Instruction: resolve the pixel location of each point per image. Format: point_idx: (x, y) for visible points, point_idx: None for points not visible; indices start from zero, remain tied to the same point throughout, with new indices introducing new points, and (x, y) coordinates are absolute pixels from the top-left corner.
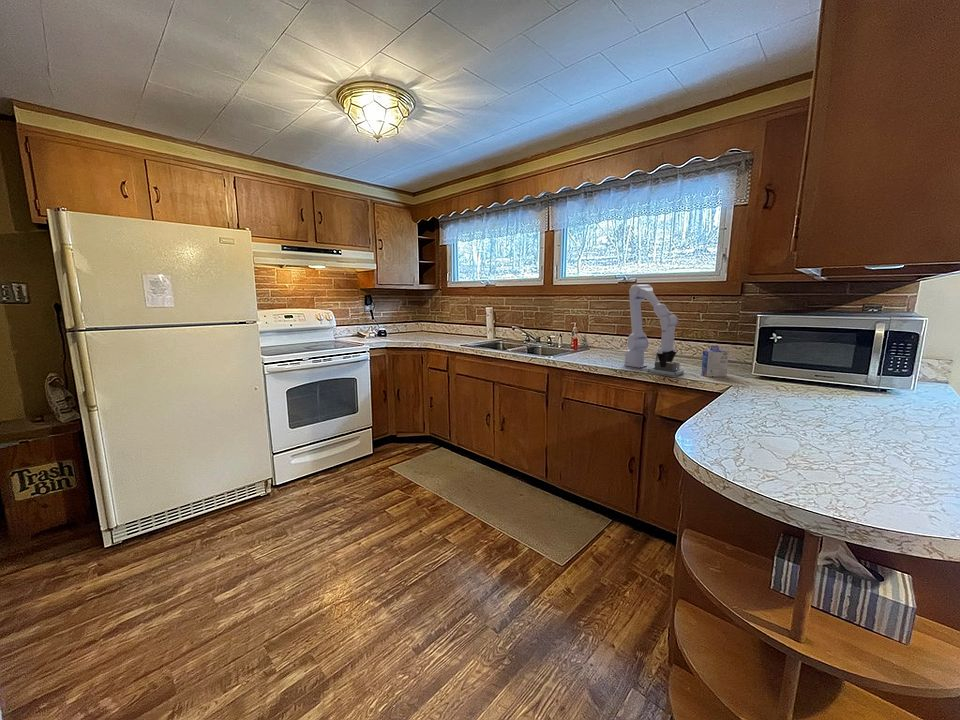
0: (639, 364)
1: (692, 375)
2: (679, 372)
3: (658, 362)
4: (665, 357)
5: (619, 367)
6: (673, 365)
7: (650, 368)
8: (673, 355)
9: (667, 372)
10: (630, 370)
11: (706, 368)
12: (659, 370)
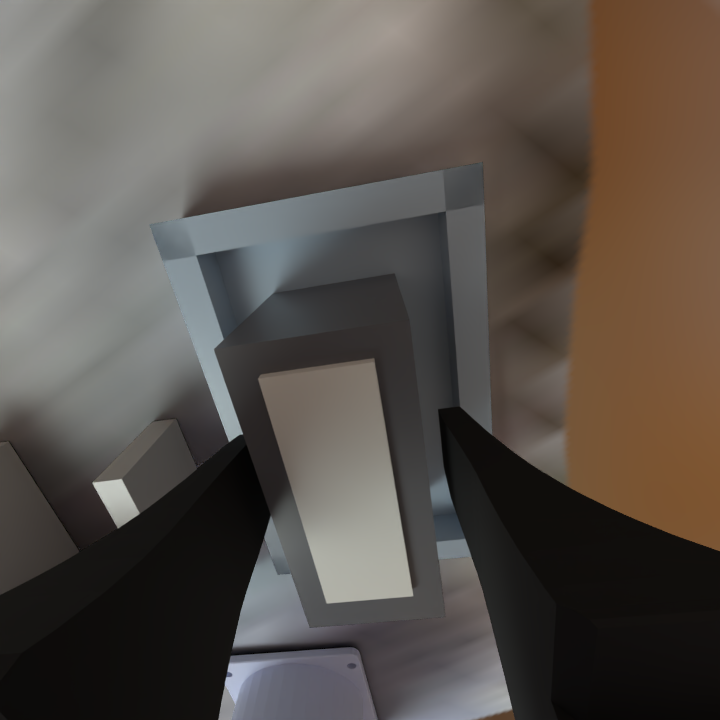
0: (326, 691)
1: (125, 62)
2: (316, 193)
3: (438, 565)
4: (647, 541)
5: (478, 715)
6: (370, 313)
7: (451, 545)
8: (118, 584)
9: (484, 302)
10: None
11: None
12: (486, 424)
